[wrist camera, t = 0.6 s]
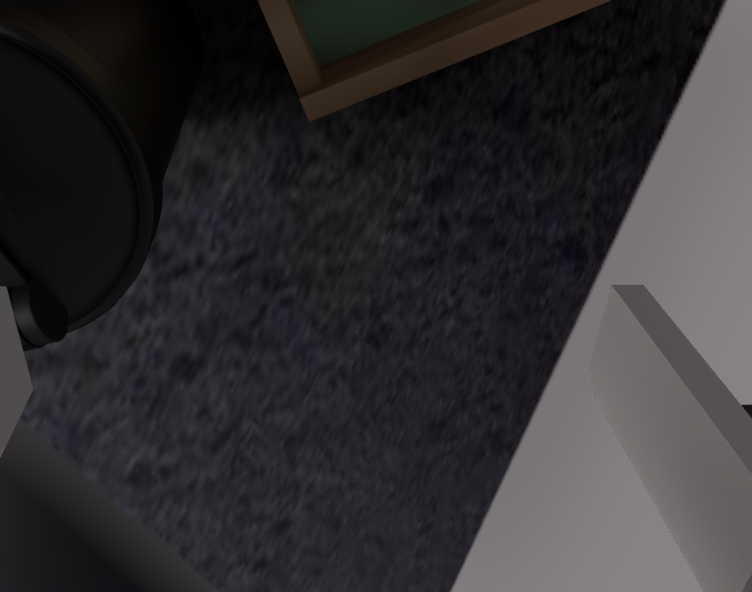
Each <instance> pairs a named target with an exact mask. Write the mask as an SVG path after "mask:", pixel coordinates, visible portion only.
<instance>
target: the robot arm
mask: <svg viewBox="0 0 752 592" xmlns="http://www.w3.org/2000/svg"><path fill="white" fill-rule="evenodd" d="M586 381H587V383H588V385H589V387H590V389H591V390H592V392H593V394H594V396H595V397H596V399H597V401H598V403H599V405H600V407H601V408H602V410H603V412H604V414H605V415H606V417H607V419H608V421H609V423H610V424H611V426H612V428H613V430H614V432H615V433H616V435H617V437H618V439H619V441H620V442H621V444H622V446H623V448H624V449H625V451H626V453H627V455H628V457H629V459H630V460H631V462H632V464H633V466H634V468H635V469H636V471H637V473H638V475H639V477H640V478H641V480H642V482H643V484H644V486H645V487H646V489H647V491H648V493H649V494H650V496H651V498H652V499H653V502H654V504H655V505H656V507H657V509H658V511H659V512H660V514H661V516H662V518H663V520H664V521H665V523H666V525H667V527H668V529H669V530H670V532H671V534H672V536H673V538H674V539H675V541H676V543H677V545H678V547H679V548H680V550H681V552H682V554H683V555H684V557H685V559H686V561H687V563H688V565H689V566H690V568H691V570H692V572H693V573H694V575H695V577H696V579H697V580H698V582H699V584H700V586H701V588H702V590H703V592H752V405H741V404H740V403H739V402H738V401H737V399H736V398H735V397H734V396H733V395H732V393H731V392H730V391H729V390H728V388H727V387H726V386H725V385H724V383H723V382H722V381H721V380H720V379H719V377H718V376H717V375H716V374H715V372H714V371H713V370H712V369H711V368H710V366H709V365H708V364H707V363H706V361H705V360H704V359H703V358H702V357H701V355H700V354H699V353H698V352H697V350H696V349H695V348H694V347H693V345H692V344H691V343H690V342H689V340H688V339H687V338H686V337H685V336H684V334H683V333H682V332H681V331H680V329H679V328H678V327H677V326H676V324H675V323H674V322H673V321H672V320H671V318H670V317H669V316H668V315H667V314H666V312H665V311H664V310H663V309H662V307H661V306H660V305H659V304H658V302H657V301H656V300H655V299H654V297H653V296H652V295H651V294H650V293H649V291H648V290H647V289H646V288H645V286H644V285H611V289H610V292H609V296H608V299H607V304H606V307H605V311H604V314H603V318H602V321H601V325H600V328H599V332H598V336H597V339H596V343H595V347H594V350H593V354H592V357H591V361H590V365H589V368H588V372H587V376H586ZM32 391H33V387H32V384H31V380H30V376H29V372H28V368H27V364H26V360H25V357H24V353H23V349H22V345H21V341H20V337H19V333H18V330H17V326H16V322H15V318H14V314H13V310H12V306H11V303H10V299H9V295H8V291H7V287H6V286H0V457H1V454H2V453H3V451H4V449H5V447H6V445H7V442H8V440H9V438H10V436H11V434H12V432H13V430H14V428H15V426H16V424H17V422H18V420H19V418H20V416H21V414H22V412H23V410H24V408H25V405H26V403H27V401H28V399H29V397H30V395H31V393H32Z"/></svg>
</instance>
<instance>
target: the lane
mask: <svg viewBox="0 0 752 592" xmlns="http://www.w3.org/2000/svg"><path fill="white" fill-rule="evenodd" d="M608 1H611V0H258V3H259V5H260V7H261V10H262V12H263V14H264V16H265V19H266V21H267V23H268V26H269V28H270V30H271V32H272V35H273V37H274V39H275V42H276V44H277V46H278V48H279V51H280V53H281V55H282V58H283V60H284V62H285V64H286V67H287V69H288V71H289V74H290V76H291V78H292V81H293V83H294V85H295V87H296V90H297V92H298V94H299V99H300V102H301V104H302V106H303V109H304V111H305V113H306V115H307V118H308V120H309V122H311V121H313V120H316V119H318V118H321V117H323V116H325V115H328V114H330V113H333V112H335V111H338V110H340V109H343V108H345V107H348V106H350V105H353V104H355V103H358V102H360V101H363V100H365V99H368V98H370V97H373V96H375V95H378V94H380V93H383V92H385V91H387V90H390V89H392V88H395V87H397V86H400V85H402V84H405V83H407V82H410V81H412V80H415V79H417V78H420V77H422V76H425V75H427V74H430V73H432V72H435V71H437V70H440V69H442V68H445V67H447V66H450V65H452V64H454V63H457V62H459V61H462V60H464V59H467V58H469V57H472V56H474V55H477V54H479V53H482V52H484V51H487V50H489V49H492V48H494V47H497V46H499V45H502V44H504V43H507V42H509V41H512V40H514V39H516V38H519V37H521V36H524V35H526V34H529V33H531V32H534V31H536V30H539V29H541V28H544V27H546V26H549V25H551V24H554V23H556V22H559V21H561V20H564V19H566V18H569V17H571V16H574V15H576V14H579V13H581V12H583V11H586V10H588V9H591V8H593V7H596V6H598V5H601V4H603V3H606V2H608Z"/></svg>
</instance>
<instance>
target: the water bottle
mask: <svg viewBox="0 0 752 592" xmlns="http://www.w3.org/2000/svg"><path fill="white" fill-rule="evenodd" d="M202 62H203V44H202V37H201V33H200V29H199V25H198V23H197V20H196V17H195V15H194V13H193V11H192V9H191V7H190V6H189V4H188V2H187V1H186V0H0V286H6V287H7V291H8V295H9V299H10V303H11V306H12V310H13V314H14V318H15V322H16V326H17V330H18V333H19V337H20V341H21V345H22V349H23V352H25V351H29V350H33V349H37V348H41V347H43V346H44V345H46V344H50V343H54V342H58V341H60V340H62V339H63V338H64V337H65V335H66V333H69V332H72V331H74V330H76V329H79V328H81V327H83V326H85V325H87V324H89V323H90V322H92V321H94V320H95V319H97V318H99V317H100V316H102V315H103V314H104V313H106V312H107V311H108V310H109V309H111V308H112V307H113V306H114V305H115V304H116V303H117V302H118V300H119V299H120V298H121V297H122V296H123V294H124V293H125V292H126V291H127V290H128V288H129V287H130V286H131V285H132V283H133V282H134V280H135V279H136V277H137V276H138V274H139V272H140V270H141V268H142V266H143V264H144V262H145V260H146V257H147V255H148V252H149V250H150V247H151V245H152V242H153V240H154V237H155V234H156V231H157V228H158V225H159V220H160V216H161V209H162V198H163V186H162V181H163V179H164V176H165V173H166V170H167V167H168V164H169V162H170V159H171V156H172V153H173V150H174V147H175V145H176V142H177V139H178V136H179V133H180V130H181V128H182V125H183V122H184V119H185V116H186V113H187V111H188V108H189V105H190V102H191V99H192V96H193V94H194V91H195V88H196V85H197V82H198V79H199V77H200V73H201V69H202Z"/></svg>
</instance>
